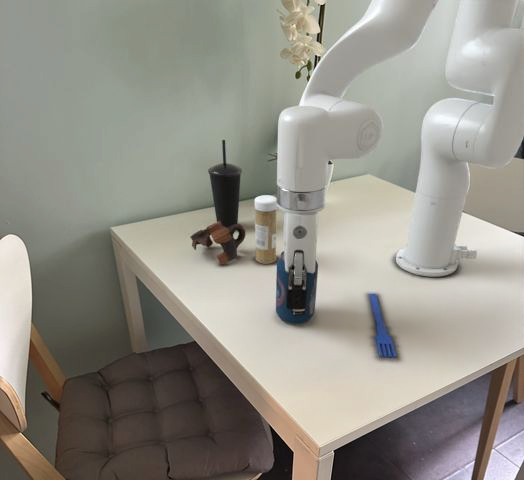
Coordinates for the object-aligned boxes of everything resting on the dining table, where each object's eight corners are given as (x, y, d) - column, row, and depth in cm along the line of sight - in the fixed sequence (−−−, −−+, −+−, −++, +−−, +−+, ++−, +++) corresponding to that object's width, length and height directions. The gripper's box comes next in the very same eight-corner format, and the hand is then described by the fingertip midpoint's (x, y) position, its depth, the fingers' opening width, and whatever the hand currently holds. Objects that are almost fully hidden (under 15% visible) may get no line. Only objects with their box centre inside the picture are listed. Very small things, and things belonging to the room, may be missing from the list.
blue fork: (365, 295, 96) (365, 293, 96) (379, 295, 96) (379, 293, 96) (379, 357, 81) (380, 355, 81) (396, 357, 81) (396, 355, 81)
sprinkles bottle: (280, 261, 108) (281, 199, 100) (262, 266, 106) (262, 204, 98) (268, 253, 111) (269, 192, 103) (251, 258, 109) (250, 197, 101)
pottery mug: (210, 272, 104) (192, 236, 102) (199, 272, 113) (182, 239, 111) (259, 246, 107) (241, 210, 105) (244, 248, 116) (228, 215, 114)
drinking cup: (225, 218, 127) (221, 133, 115) (249, 225, 123) (248, 139, 111) (205, 228, 122) (198, 141, 110) (229, 236, 118) (226, 146, 106)
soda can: (273, 307, 93) (274, 247, 86) (310, 305, 93) (314, 245, 86) (278, 328, 87) (279, 265, 80) (317, 326, 88) (322, 263, 81)
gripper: (328, 218, 70) (319, 324, 81) (323, 178, 84) (315, 273, 95) (274, 217, 71) (272, 323, 81) (278, 177, 84) (275, 272, 95)
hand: (295, 295), depth 88 cm, fingers closed on soda can, 7 cm apart
